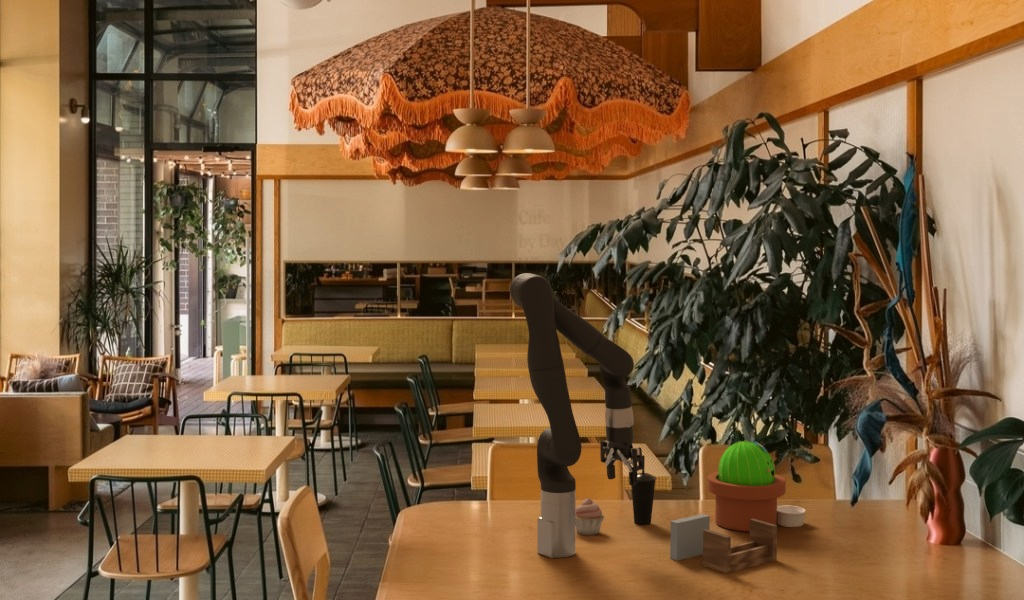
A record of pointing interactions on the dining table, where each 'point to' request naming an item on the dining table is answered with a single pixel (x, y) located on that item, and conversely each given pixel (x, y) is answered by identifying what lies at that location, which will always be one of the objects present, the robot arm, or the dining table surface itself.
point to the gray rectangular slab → (688, 536)
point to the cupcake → (588, 518)
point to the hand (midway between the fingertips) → (622, 481)
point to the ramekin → (790, 516)
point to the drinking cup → (643, 497)
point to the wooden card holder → (740, 548)
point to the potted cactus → (745, 486)
